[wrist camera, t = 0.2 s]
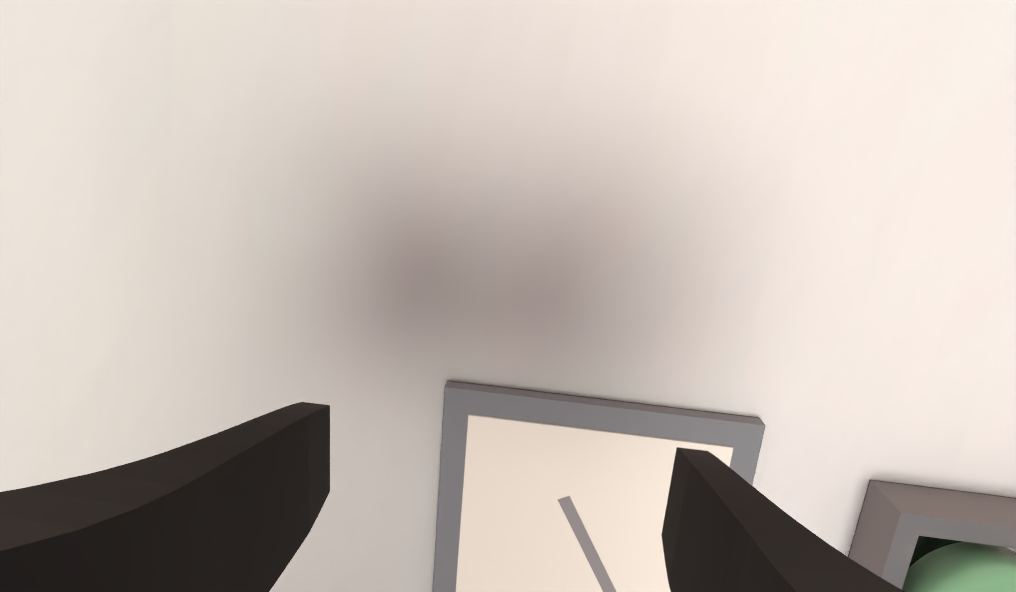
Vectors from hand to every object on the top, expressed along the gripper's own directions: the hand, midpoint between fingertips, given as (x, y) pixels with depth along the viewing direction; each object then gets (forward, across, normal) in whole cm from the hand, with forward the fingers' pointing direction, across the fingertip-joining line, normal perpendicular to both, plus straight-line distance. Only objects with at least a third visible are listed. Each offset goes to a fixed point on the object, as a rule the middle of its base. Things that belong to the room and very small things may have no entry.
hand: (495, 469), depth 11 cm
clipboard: (+10, -3, +11) cm, 15 cm away
